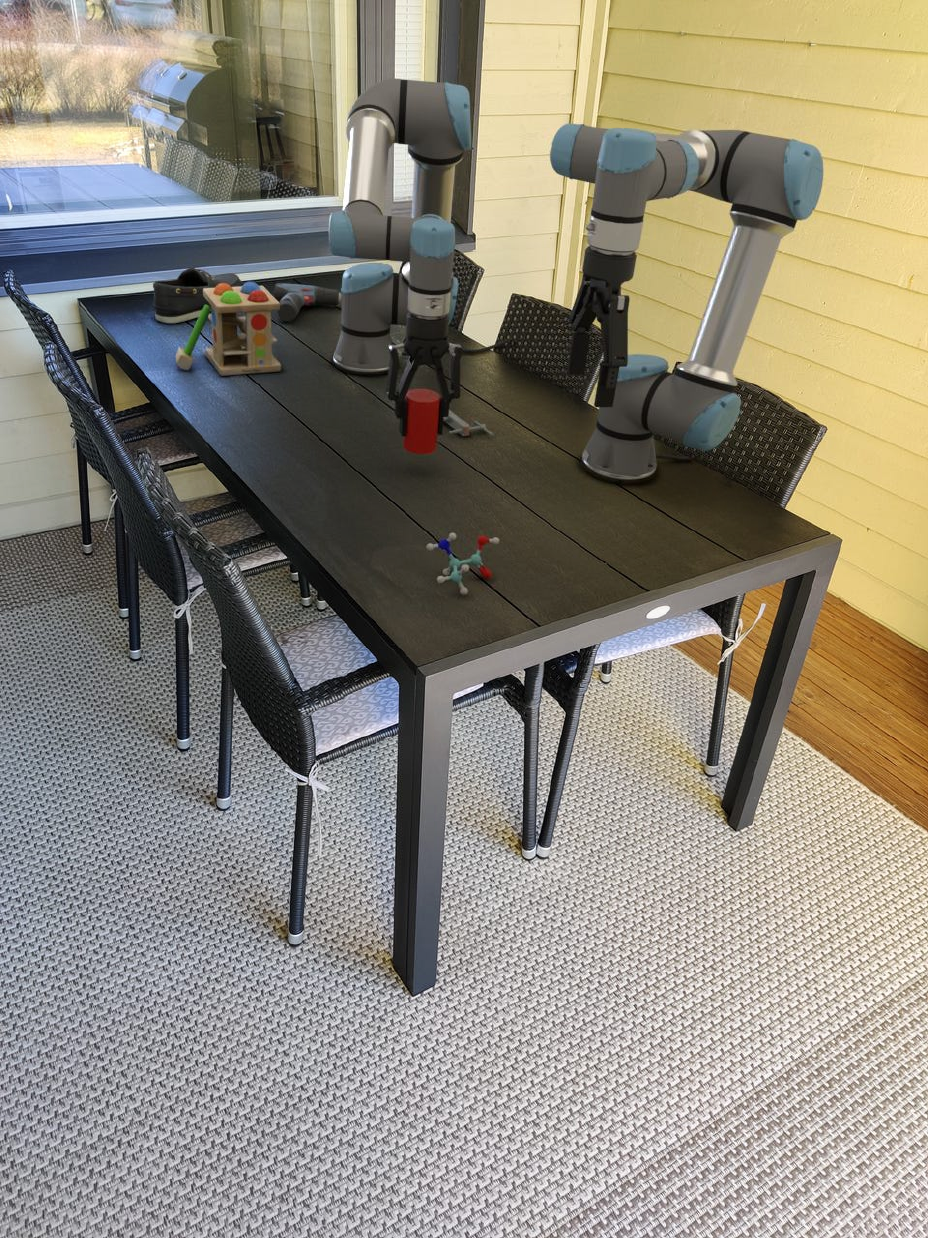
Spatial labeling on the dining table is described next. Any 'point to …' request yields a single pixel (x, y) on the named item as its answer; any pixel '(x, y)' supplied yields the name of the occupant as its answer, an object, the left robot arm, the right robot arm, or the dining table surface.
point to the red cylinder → (422, 421)
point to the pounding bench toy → (229, 347)
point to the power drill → (302, 298)
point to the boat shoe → (186, 294)
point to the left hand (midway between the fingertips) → (420, 432)
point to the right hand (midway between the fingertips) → (588, 389)
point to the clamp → (463, 425)
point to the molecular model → (455, 563)
